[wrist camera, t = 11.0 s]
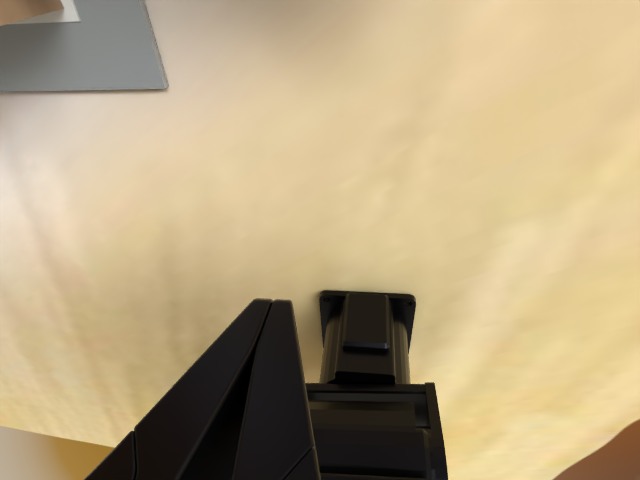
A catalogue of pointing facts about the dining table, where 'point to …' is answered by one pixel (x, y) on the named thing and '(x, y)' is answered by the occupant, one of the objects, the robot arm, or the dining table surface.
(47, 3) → the walnut base
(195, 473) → the robot arm
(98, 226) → the dining table surface
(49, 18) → the build board
